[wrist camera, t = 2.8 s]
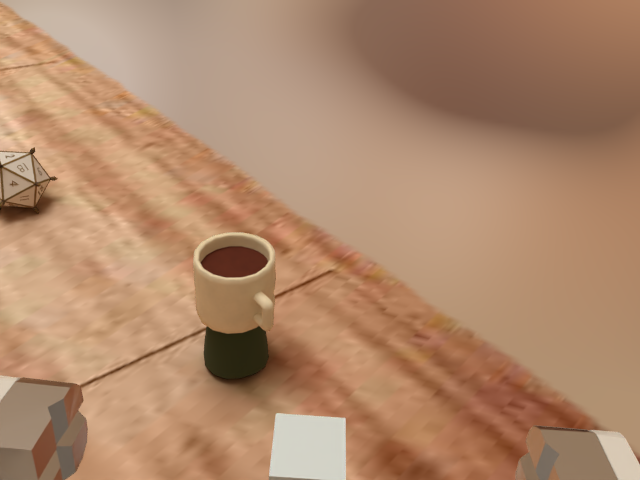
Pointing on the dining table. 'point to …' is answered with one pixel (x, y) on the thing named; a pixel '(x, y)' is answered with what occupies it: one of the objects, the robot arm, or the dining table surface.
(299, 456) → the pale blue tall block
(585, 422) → the dining table surface
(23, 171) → the game die
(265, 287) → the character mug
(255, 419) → the dining table surface
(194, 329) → the dining table surface
